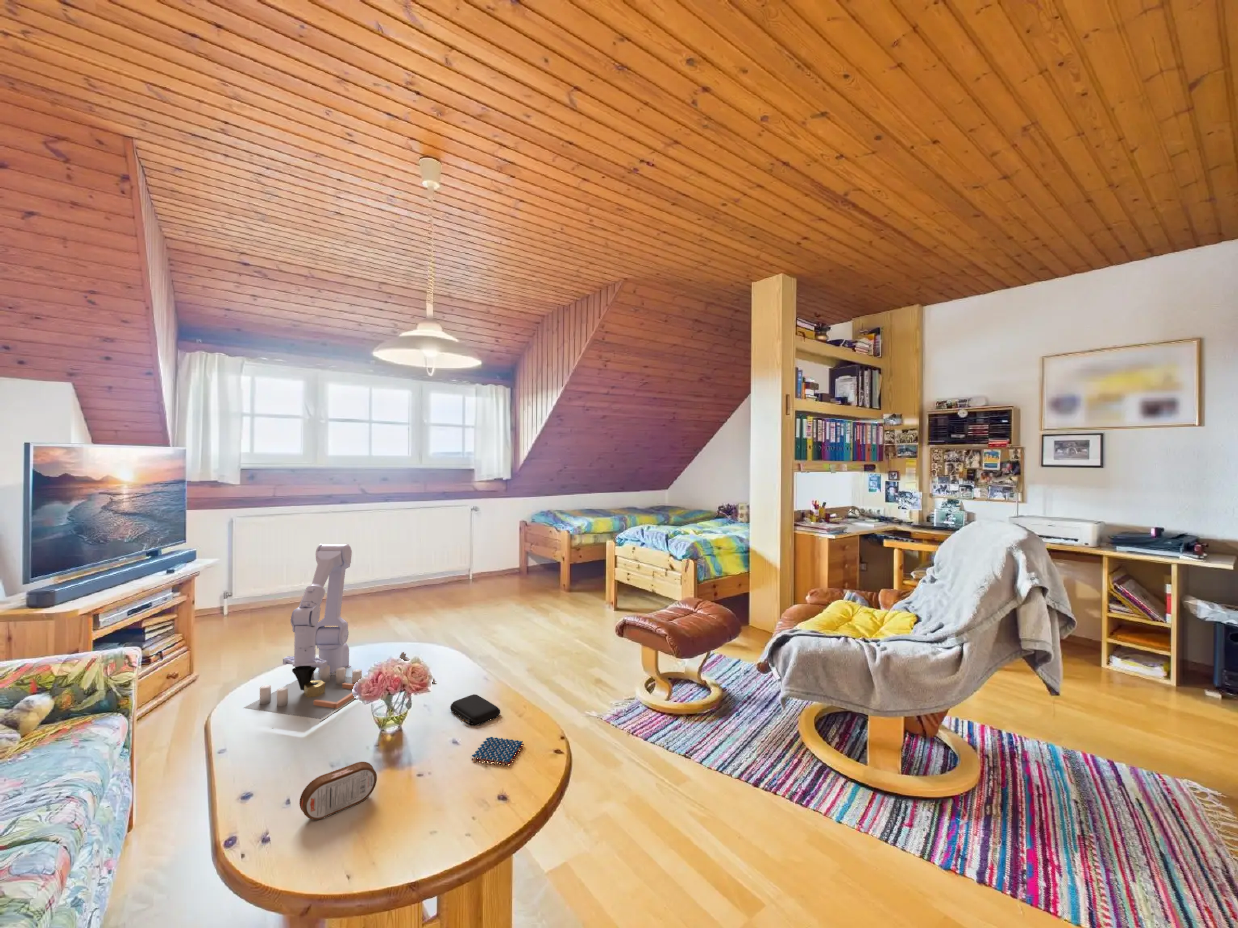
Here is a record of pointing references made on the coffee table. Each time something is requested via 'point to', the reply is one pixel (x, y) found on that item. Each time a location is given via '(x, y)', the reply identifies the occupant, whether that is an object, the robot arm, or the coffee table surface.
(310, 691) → the brass nut
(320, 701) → the parts bay
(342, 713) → the coffee table surface
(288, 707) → the plate
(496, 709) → the carrying case or bag
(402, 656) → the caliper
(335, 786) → the tin
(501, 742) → the woven mat
